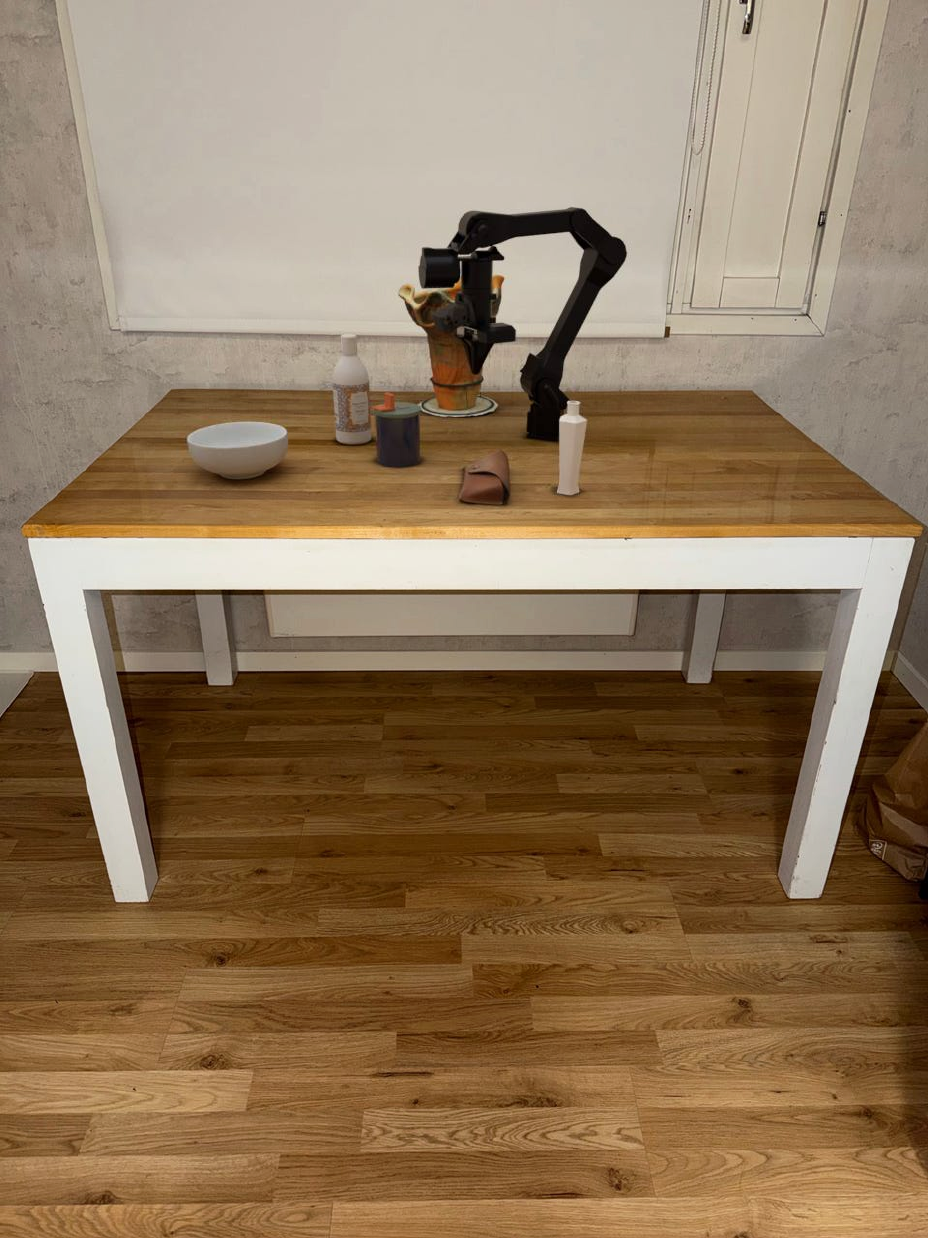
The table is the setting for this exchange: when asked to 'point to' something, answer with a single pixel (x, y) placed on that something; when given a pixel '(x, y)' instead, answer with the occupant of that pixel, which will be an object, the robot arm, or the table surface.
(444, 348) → the decorative vase
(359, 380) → the bath foam
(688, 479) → the table surface
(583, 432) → the white tall faceted bottle
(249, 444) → the cereal bowl
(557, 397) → the robot arm
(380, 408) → the slider
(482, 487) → the sunglasses case
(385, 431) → the travel cup
